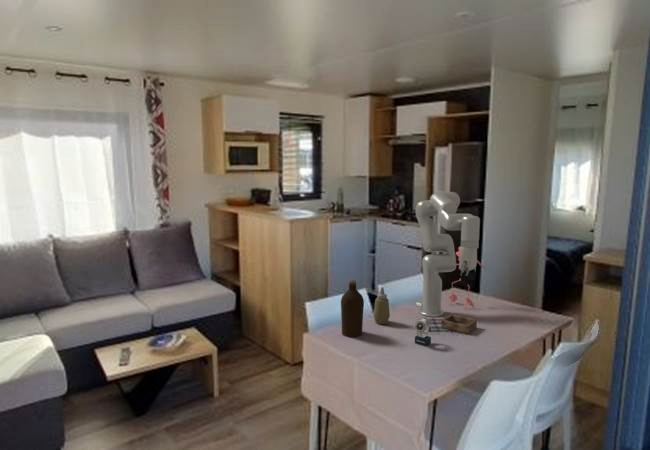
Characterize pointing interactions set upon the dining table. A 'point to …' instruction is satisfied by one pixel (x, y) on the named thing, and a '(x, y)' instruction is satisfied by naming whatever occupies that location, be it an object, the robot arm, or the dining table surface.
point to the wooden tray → (459, 324)
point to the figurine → (453, 296)
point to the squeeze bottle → (381, 308)
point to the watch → (422, 333)
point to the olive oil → (352, 311)
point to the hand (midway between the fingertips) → (467, 282)
